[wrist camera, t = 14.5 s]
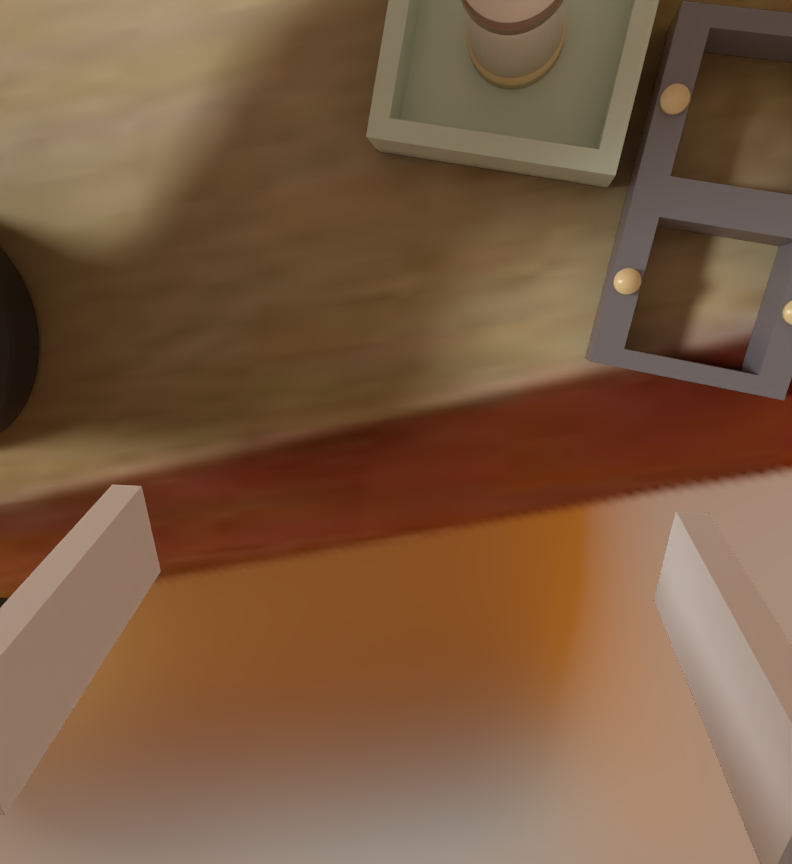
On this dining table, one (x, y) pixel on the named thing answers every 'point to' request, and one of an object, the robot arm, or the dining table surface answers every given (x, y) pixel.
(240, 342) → the dining table surface
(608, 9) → the parts tray
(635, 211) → the block
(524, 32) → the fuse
